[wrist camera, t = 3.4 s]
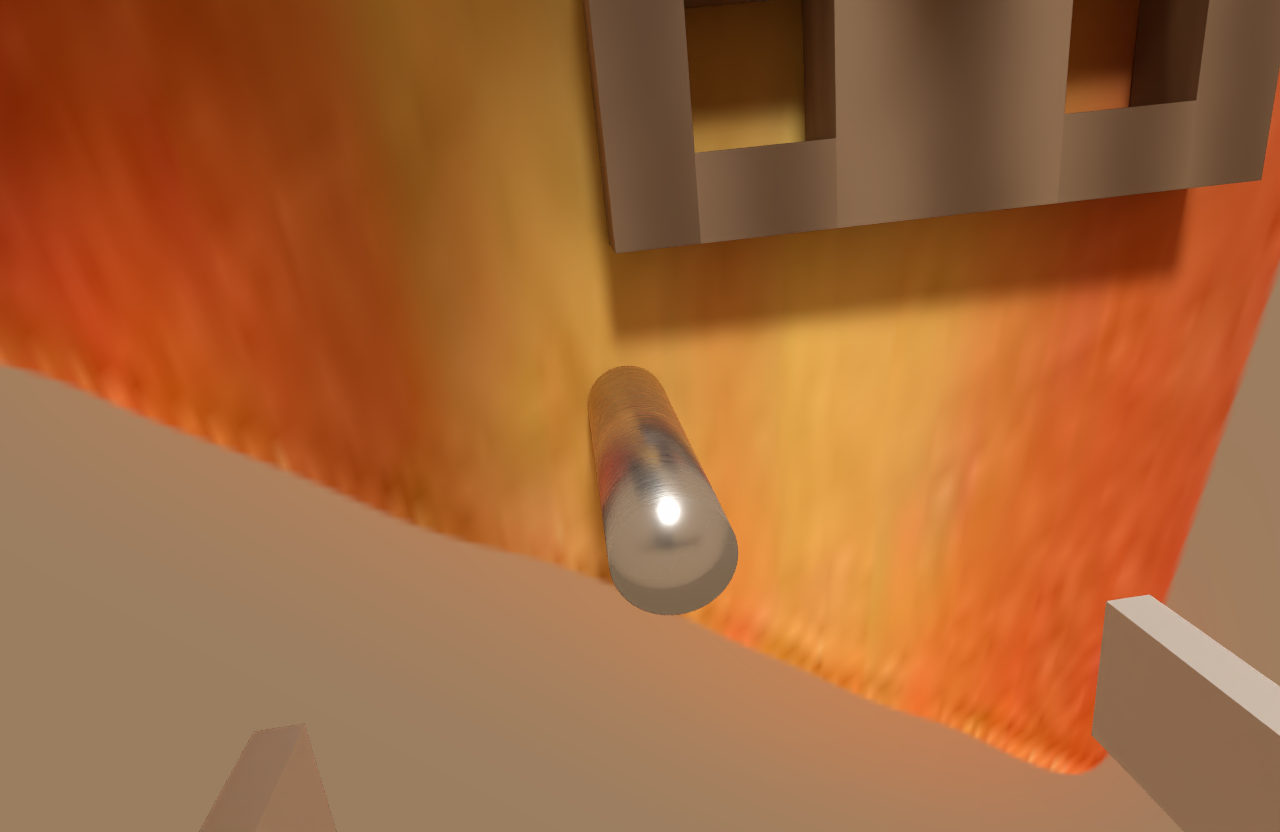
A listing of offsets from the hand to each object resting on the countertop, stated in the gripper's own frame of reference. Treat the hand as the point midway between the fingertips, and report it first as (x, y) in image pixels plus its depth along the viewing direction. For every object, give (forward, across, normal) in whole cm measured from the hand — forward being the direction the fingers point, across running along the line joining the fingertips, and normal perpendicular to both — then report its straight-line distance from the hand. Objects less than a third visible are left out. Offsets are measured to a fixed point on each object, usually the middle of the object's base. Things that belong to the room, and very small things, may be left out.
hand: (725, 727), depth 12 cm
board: (+17, +11, +11) cm, 23 cm away
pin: (+17, 0, 0) cm, 17 cm away
